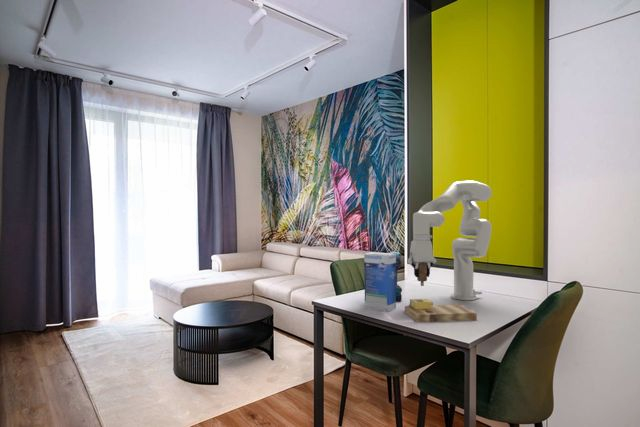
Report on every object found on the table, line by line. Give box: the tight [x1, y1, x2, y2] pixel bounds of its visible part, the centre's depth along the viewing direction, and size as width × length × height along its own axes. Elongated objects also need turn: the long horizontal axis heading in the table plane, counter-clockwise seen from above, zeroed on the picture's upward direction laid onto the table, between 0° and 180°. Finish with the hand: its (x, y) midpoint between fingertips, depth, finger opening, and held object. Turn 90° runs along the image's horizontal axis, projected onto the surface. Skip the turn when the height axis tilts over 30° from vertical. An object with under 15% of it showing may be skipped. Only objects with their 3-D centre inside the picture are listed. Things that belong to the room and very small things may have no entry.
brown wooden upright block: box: [416, 262, 428, 287], centre depth 170 cm, size 4×4×10 cm
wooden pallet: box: [404, 304, 478, 323], centre depth 155 cm, size 26×15×3 cm, turn 97°
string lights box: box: [363, 251, 397, 312], centre depth 168 cm, size 13×8×26 cm, turn 52°
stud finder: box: [410, 298, 432, 309], centre depth 158 cm, size 7×5×3 cm
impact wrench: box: [388, 250, 403, 303], centre depth 185 cm, size 8×23×25 cm, turn 174°
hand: (422, 276), depth 170 cm, fingers closed on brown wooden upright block, 4 cm apart
